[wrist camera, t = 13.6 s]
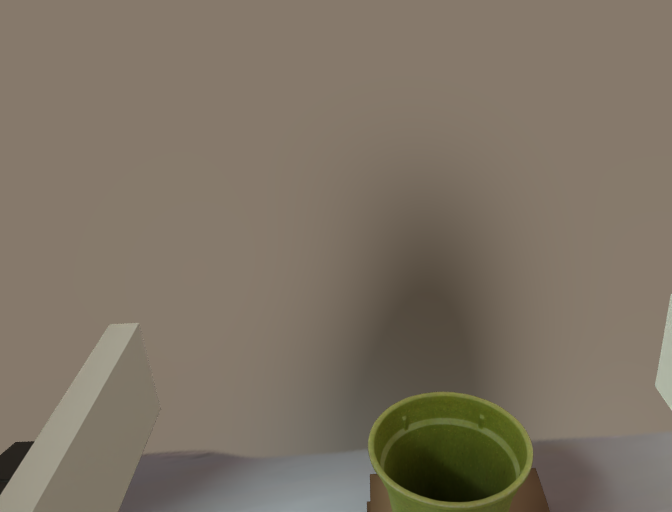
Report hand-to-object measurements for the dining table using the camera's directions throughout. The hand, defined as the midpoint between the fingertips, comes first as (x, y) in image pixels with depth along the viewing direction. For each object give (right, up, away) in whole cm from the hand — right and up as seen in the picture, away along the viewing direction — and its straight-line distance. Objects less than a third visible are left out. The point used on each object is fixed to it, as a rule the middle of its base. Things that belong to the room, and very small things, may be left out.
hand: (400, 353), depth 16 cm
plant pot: (+6, -16, +25) cm, 30 cm away
